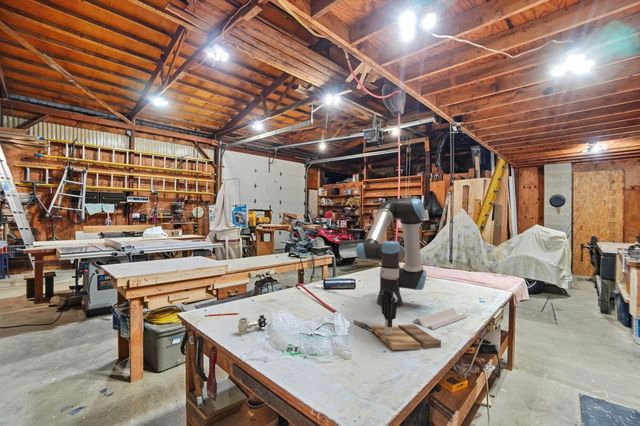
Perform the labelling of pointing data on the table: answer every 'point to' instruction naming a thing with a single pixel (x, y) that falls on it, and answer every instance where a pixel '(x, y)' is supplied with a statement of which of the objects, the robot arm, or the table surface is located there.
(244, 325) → the valve
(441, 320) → the crown molding
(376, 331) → the oak plank
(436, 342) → the walnut floor board
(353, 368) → the table surface
